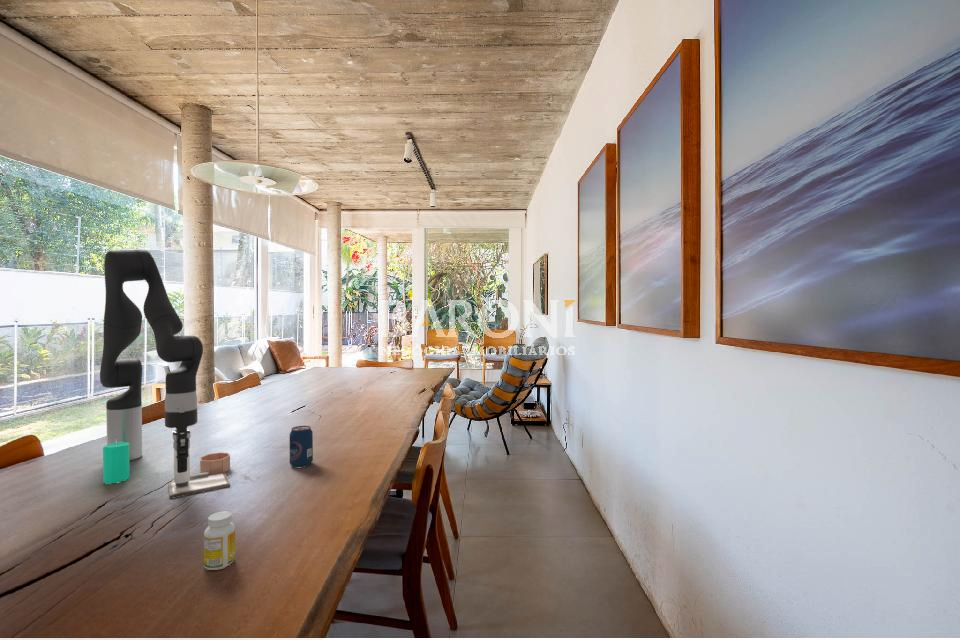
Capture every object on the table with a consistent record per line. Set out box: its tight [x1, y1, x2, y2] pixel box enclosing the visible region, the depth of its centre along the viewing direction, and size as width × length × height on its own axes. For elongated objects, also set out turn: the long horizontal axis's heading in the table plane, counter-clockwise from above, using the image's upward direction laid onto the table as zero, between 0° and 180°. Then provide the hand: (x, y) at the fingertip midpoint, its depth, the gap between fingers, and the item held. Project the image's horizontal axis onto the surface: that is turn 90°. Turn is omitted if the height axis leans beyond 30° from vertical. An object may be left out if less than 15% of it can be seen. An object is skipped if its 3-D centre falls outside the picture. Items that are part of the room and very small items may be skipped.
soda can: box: [289, 425, 314, 468], centre depth 143 cm, size 7×7×12 cm
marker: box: [172, 439, 191, 487], centre depth 123 cm, size 4×4×12 cm
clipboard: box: [168, 472, 231, 499], centre depth 126 cm, size 11×14×2 cm
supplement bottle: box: [203, 510, 236, 569], centre depth 87 cm, size 5×5×10 cm
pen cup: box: [199, 452, 231, 475], centre depth 138 cm, size 8×8×4 cm
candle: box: [102, 439, 131, 484], centre depth 130 cm, size 6×6×12 cm
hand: (181, 469), depth 123 cm, fingers closed on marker, 3 cm apart
